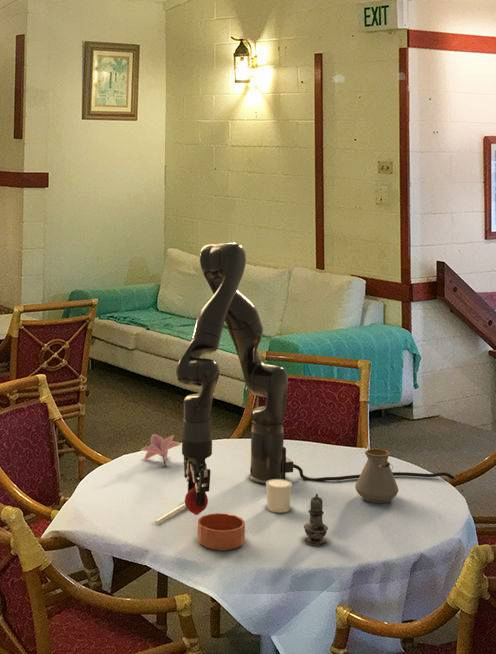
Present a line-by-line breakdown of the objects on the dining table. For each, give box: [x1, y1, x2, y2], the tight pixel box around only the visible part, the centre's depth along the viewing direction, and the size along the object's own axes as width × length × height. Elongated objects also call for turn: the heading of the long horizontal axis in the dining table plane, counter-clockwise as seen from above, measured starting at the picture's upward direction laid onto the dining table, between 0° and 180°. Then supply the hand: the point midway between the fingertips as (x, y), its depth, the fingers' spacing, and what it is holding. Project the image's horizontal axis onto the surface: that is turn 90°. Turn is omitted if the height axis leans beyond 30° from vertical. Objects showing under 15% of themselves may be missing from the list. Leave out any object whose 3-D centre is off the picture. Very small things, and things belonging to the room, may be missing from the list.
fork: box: [155, 502, 187, 524], centre depth 251 cm, size 3×20×2 cm, turn 145°
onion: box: [184, 486, 209, 516], centre depth 242 cm, size 6×6×8 cm
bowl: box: [197, 512, 246, 551], centre depth 232 cm, size 11×11×5 cm
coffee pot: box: [354, 448, 399, 504], centre depth 256 cm, size 21×12×15 cm, turn 177°
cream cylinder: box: [265, 479, 293, 514], centre depth 253 cm, size 7×7×7 cm
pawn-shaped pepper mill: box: [303, 493, 329, 547], centre depth 232 cm, size 6×6×12 cm
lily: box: [140, 433, 182, 467], centre depth 289 cm, size 12×12×10 cm
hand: (196, 501), depth 243 cm, fingers closed on onion, 6 cm apart
